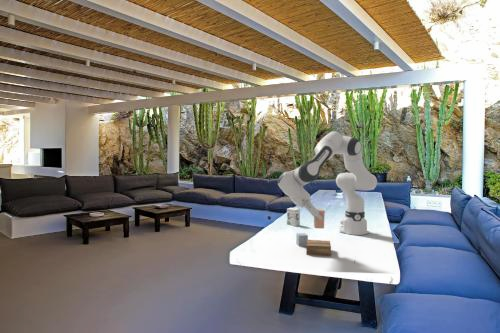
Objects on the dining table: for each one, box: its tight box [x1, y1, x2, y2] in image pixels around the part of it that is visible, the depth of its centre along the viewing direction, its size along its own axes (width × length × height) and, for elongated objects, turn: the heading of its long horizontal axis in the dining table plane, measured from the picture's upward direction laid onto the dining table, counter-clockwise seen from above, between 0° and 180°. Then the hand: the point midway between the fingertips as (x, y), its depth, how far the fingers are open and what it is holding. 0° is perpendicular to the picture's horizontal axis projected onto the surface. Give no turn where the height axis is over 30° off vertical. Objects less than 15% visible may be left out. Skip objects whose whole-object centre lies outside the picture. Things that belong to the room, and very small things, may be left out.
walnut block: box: [305, 239, 332, 257], centre depth 177 cm, size 12×12×5 cm
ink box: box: [286, 207, 301, 227], centre depth 243 cm, size 9×5×12 cm, turn 37°
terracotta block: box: [313, 208, 325, 229], centre depth 177 cm, size 4×4×9 cm
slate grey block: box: [295, 232, 309, 247], centre depth 190 cm, size 5×5×6 cm
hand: (320, 218), depth 177 cm, fingers closed on terracotta block, 4 cm apart
